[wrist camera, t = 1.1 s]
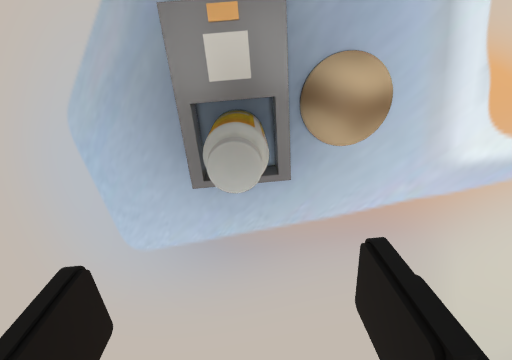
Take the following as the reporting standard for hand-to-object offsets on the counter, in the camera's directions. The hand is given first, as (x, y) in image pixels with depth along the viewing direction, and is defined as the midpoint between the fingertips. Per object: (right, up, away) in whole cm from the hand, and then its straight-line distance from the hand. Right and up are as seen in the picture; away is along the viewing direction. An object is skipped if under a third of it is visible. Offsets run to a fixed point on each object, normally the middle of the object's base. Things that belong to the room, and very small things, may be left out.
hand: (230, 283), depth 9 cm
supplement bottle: (-1, +8, +18) cm, 20 cm away
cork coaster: (+10, +12, +17) cm, 23 cm away
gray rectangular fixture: (-1, +12, +17) cm, 20 cm away
